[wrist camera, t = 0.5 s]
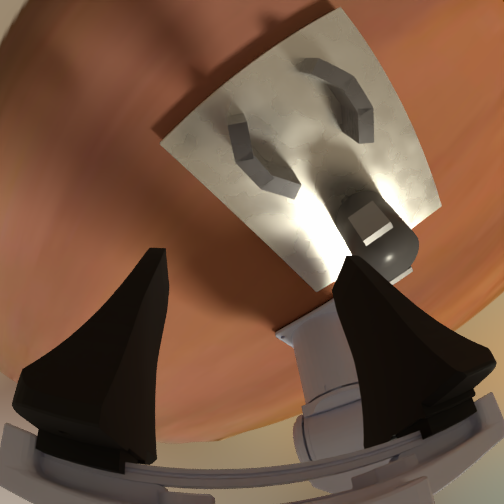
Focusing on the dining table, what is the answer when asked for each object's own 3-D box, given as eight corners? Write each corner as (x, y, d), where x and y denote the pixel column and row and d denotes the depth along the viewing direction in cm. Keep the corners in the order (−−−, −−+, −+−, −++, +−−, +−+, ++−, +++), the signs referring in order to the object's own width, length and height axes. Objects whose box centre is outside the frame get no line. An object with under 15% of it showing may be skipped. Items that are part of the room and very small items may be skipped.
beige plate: (435, 200, 21) (457, 221, 18) (313, 284, 26) (323, 313, 23) (334, 9, 12) (358, 1, 9) (162, 139, 16) (150, 156, 14)
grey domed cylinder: (395, 222, 21) (426, 261, 17) (353, 251, 23) (376, 295, 19) (370, 174, 18) (406, 210, 14) (321, 208, 20) (346, 252, 16)
